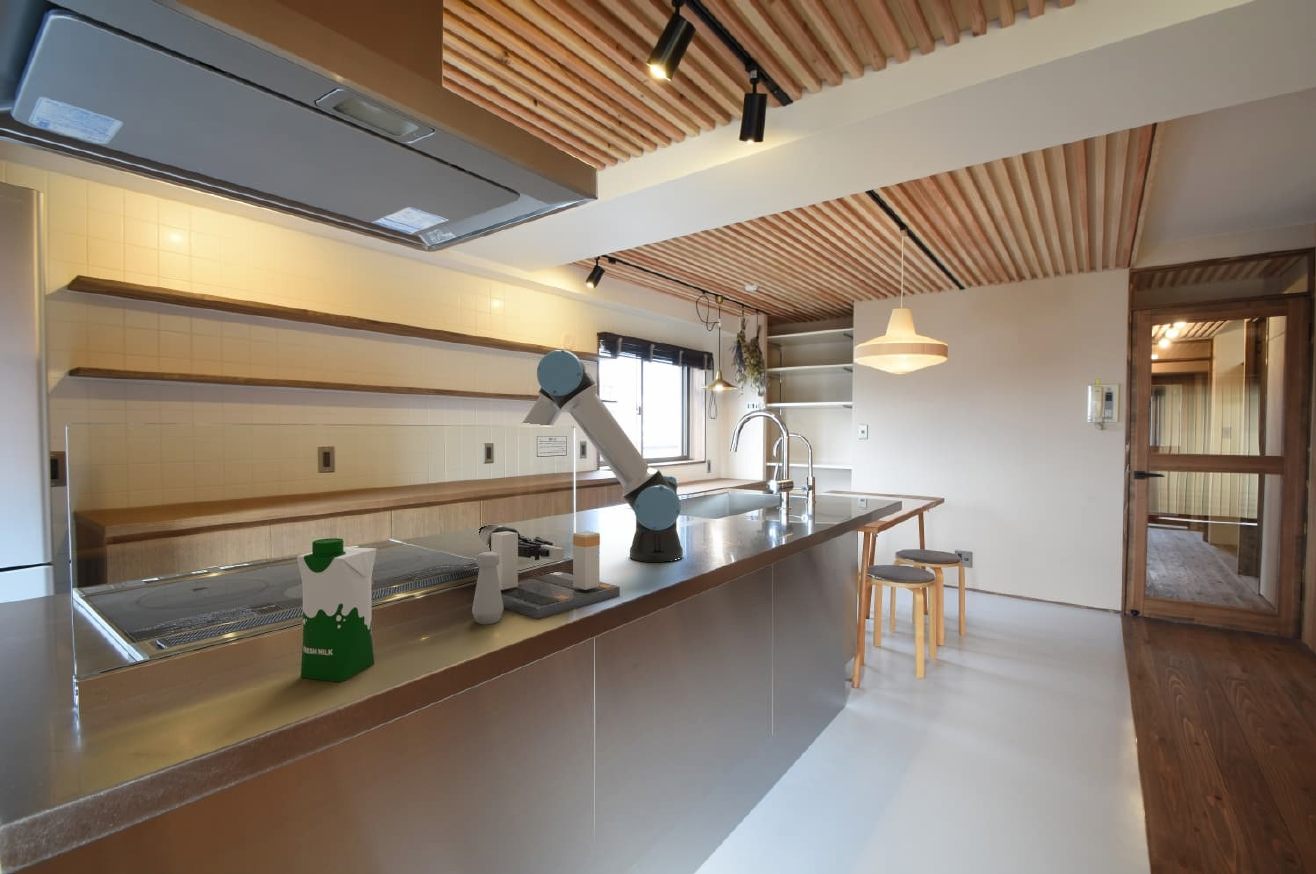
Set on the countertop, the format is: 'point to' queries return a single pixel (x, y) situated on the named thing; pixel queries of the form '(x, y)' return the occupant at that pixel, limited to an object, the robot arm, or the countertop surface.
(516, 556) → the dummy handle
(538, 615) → the panel
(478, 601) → the salt shaker
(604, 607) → the countertop surface
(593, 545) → the handle
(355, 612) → the milk carton
